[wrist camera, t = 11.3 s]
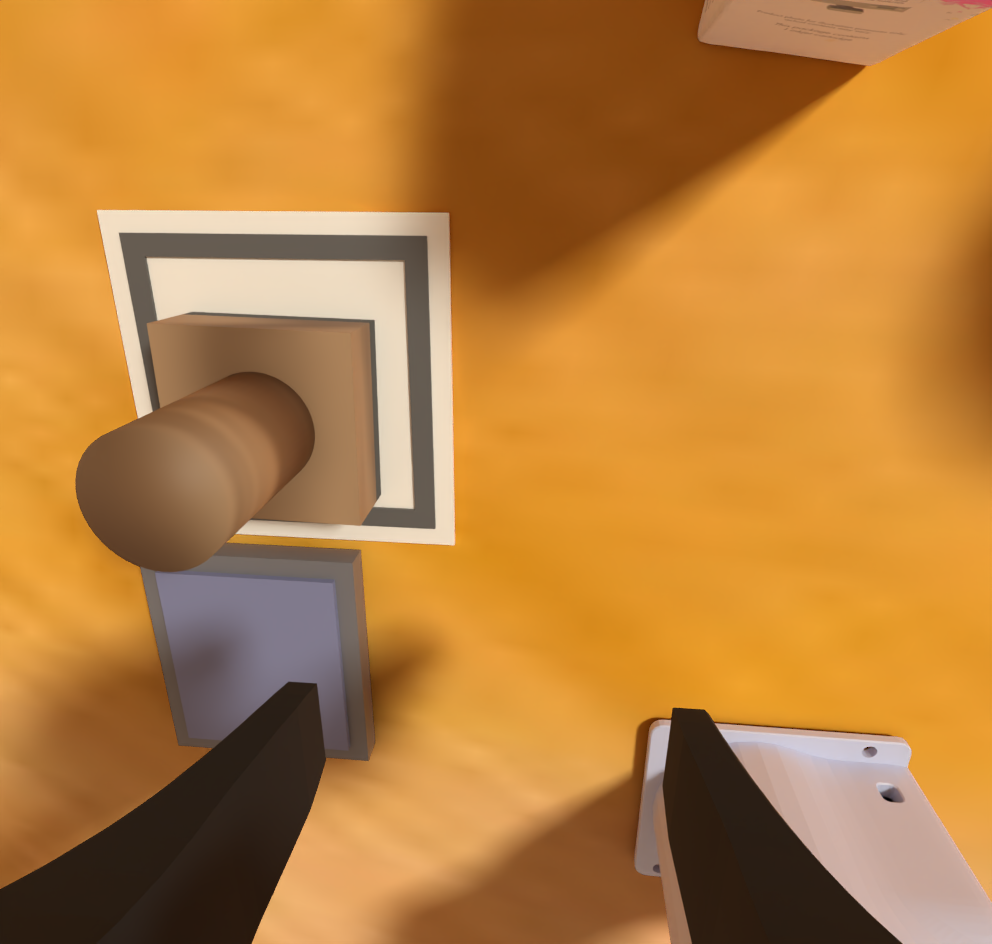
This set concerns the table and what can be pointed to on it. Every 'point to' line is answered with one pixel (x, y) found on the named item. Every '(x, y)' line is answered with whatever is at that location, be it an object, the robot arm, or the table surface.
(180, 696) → the ink pad
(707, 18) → the ink cartridge box
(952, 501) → the table surface
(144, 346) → the print sheet
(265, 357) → the stamp
